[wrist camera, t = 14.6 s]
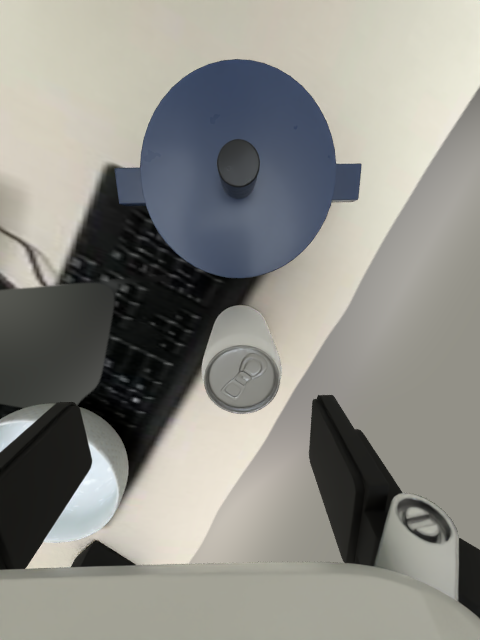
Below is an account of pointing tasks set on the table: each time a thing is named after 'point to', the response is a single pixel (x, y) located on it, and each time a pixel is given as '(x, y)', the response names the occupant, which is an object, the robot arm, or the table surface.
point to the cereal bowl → (98, 485)
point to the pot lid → (238, 168)
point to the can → (241, 361)
